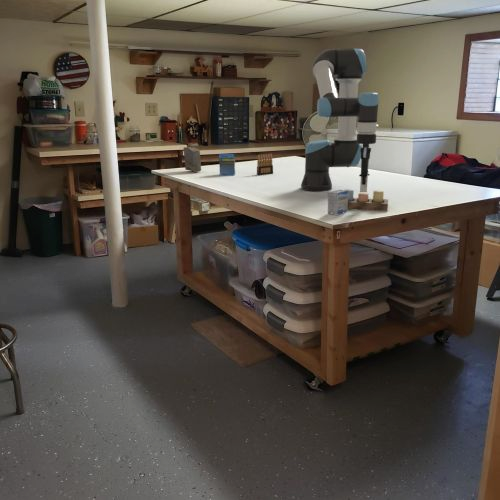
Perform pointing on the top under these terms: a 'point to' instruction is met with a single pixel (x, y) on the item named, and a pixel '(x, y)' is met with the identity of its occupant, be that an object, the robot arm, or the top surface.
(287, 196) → the top surface
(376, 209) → the button board
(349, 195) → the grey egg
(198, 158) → the geological specimen
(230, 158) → the label tape box
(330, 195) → the medicine box
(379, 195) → the button ochre
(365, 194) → the button terracotta
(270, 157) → the ammunition clip
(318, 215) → the top surface
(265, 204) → the top surface
